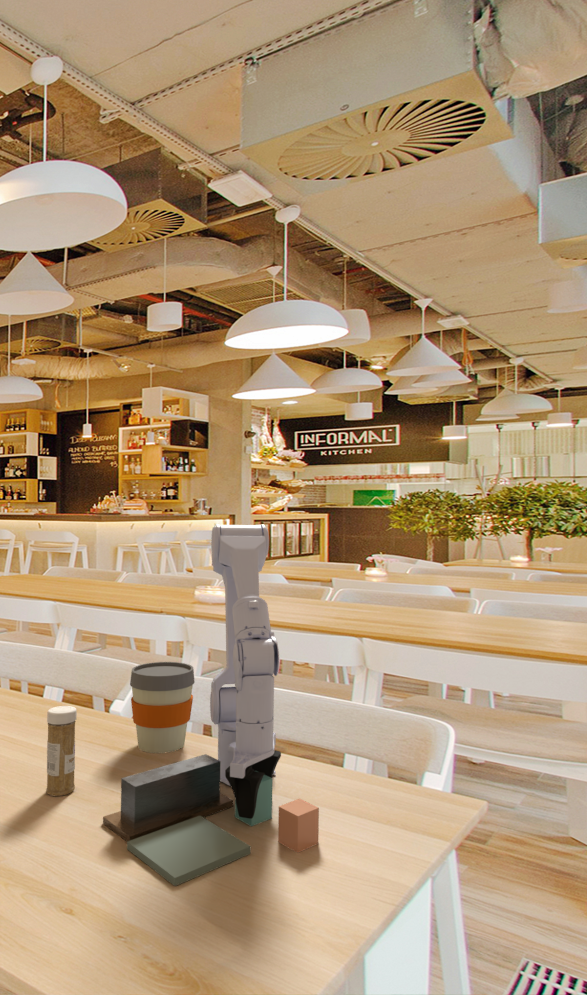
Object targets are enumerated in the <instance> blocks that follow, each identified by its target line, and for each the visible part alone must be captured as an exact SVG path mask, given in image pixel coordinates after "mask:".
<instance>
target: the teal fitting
mask: <svg viewBox="0 0 587 995" xmlns="http://www.w3.org/2000/svg"><path fill="white" fill-rule="evenodd" d="M256 772H258V771H256ZM234 818H236V819H237V820H239V821H241V822H243V823H245V824H246V825H248V826H249V827H253V826H256V825H259V824H261V823H264V822H266V821H268V820H271V819H273V777H272V778H271V777H268V776H266V775H264V776H263V778H262V780H261V783H260V786H259V789H258V794H257V801H256V808H255V813H254V816H253V818H252V819H249V818H243V817H239V814H238V810H237V805H236V801H235V800H234Z"/></svg>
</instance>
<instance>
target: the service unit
mask: <svg viewBox="0 0 587 995" xmlns="http://www.w3.org/2000/svg"><path fill="white" fill-rule="evenodd" d="M120 779H121V782H120V783H121V784H120V789H121V790H120V810H119V811H116V812H114V813H110V814H107V815H104V816H102V824H103V825H104V826H106V828H109V829H110V830H111V831H112V832H114V833H115V834H116V835H117V836H119V837H120V838H121V839H123V840H124V841H126V843H127V842H128V841H130V840H133V839H136V838H139V837H141V836H144V835H147V834H150V833H153V832H155V831H158V830H161V829H164V828H167V827H169V826H172V825H175V824H178V823H180V822H183V821H186V820H189V819H192V818H194V817H197V816H202V817H203V818H205V817H208V816H210V815H213V814H216V813H219V812H221V811H224V810H227V809H230V808H233V807H234V799H232V798H230V797H228V796H227V795H225V794H223V793H221V781H220V761H219V760H218V758H215V757H212V756H210V755H209V754H206V753H205V754H201V755H198V756H195V757H191V758H188V759H187V758H186V759H183V760H181V761H177V762H174V763H170V764H167V765H163V766H160V767H156V768H152V769H149V770H146V771H142V772H138V773H134V774H130V775H128V776H124V777H121V778H120Z"/></svg>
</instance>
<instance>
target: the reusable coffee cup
mask: <svg viewBox="0 0 587 995" xmlns="http://www.w3.org/2000/svg"><path fill="white" fill-rule="evenodd" d="M194 669H195V668H194V666H193V665H192V664H188V663H185V662H179V661H178V662H177V661H157V662H154V661H153V662H148V663H147V662H146V663H143V664H138V665H136V666H134V667H132V668H131V674H130V681H129V685H130V687H131V691H132V693H131V694H132V697H130V702H131V711H132V712H131V714H132V720H133V723H134V725H135V730H136V738H137V748H138V749H139V750H140V751H142V752H145V753H150V754H166V753H165V752H168V753H171V752H170V751H173V752H176V751H179V750H180V748H181V749H182V748H183V747H184V746H185V743H186V742H185V740H186V736H187V735H186V733H187V729H188V722H189V721H191V716H192V715H191V714H192V707H193V701H194V700H193V699H194V695H193V694H192V691H193V685H194V684H195V670H194ZM178 749H179V750H178ZM175 750H176V751H175Z"/></svg>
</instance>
